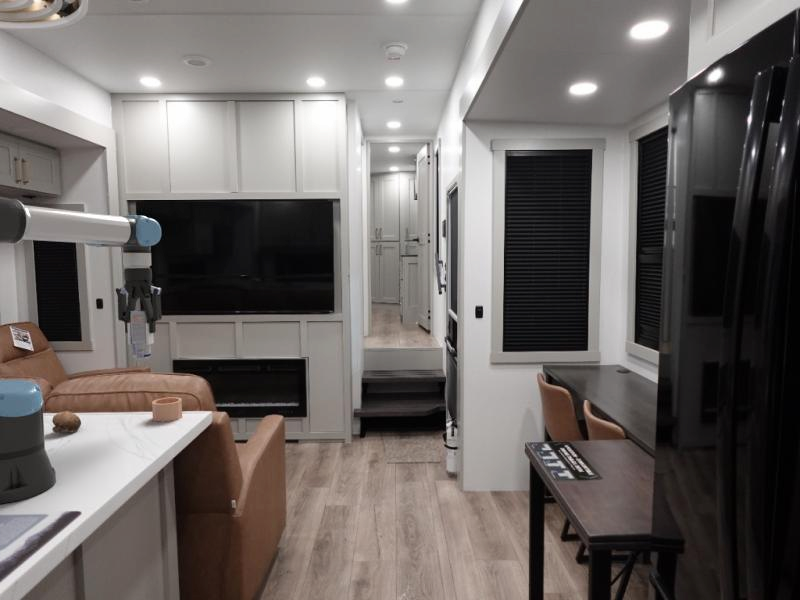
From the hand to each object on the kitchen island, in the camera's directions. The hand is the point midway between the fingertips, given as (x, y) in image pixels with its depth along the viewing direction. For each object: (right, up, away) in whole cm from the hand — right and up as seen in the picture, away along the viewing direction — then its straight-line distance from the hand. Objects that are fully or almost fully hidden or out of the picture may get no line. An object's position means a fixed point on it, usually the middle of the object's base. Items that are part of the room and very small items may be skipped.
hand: (141, 343), depth 158 cm
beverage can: (0, -5, 0) cm, 5 cm away
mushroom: (-19, -26, -5) cm, 33 cm away
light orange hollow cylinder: (+4, -25, +9) cm, 26 cm away
